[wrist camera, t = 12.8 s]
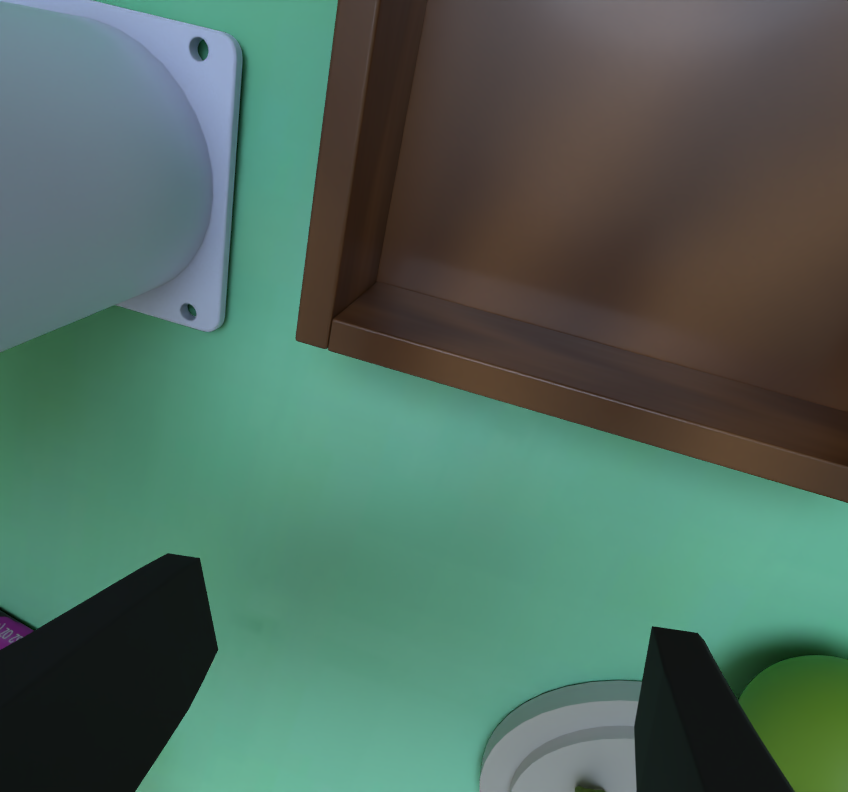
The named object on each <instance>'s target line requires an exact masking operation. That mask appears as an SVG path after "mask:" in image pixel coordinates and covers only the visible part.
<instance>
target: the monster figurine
mask: <svg viewBox="0 0 848 792" xmlns="http://www.w3.org/2000/svg"><path fill="white" fill-rule="evenodd" d="M641 685H642V682H640V681H622V680H616V681H599V682H588V683H583V684H577V685H572V686H566V687H563V688H560V689H557V690H554V691H551V692H547V693H544V694H542V695H540V696H538V697H536V698H534V699H532V700H530V701H528V702H526V703H524V704H522V705H521V706H520V707H518V708H517V709H516V710H514V711H513V712H511V713H510V714H509V715H507V717H506V718H505V719H504V720H503V721H502V722H501V723H500V724H499V725H498V726H497V727H496V729H495V730H494V732H493V734H492V736H491V737H490V739H489V741H488V743H487V746H486V749H485V753H484V756H483V761H482V768H481V775H480V792H637V789H636V767H635V739H634V724H635V718H636V713H637V707H638V701H639V696H640V690H641Z"/></svg>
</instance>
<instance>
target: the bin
mask: <svg viewBox="0 0 848 792" xmlns="http://www.w3.org/2000/svg"><path fill="white" fill-rule="evenodd" d="M296 340H297V341H299V342H302V343H306V344H309V345H312V346H316V347H319V348H323V349H327V348H328V350H329V351H332V352H335V353H339V354H342V355H345V356H349V357H352V358H356V359H359V360H362V361H366V362H369V363H373V364H376V365H379V366H383V367H386V368H390V369H393V370H396V371H400V372H403V373H407V374H410V375H414V376H417V377H420V378H424V379H427V380H431V381H434V382H437V383H441V384H444V385H448V386H451V387H454V388H458V389H461V390H465V391H468V392H472V393H475V394H478V395H482V396H485V397H489V398H492V399H495V400H499V401H502V402H506V403H509V404H512V405H516V406H519V407H523V408H526V409H530V410H533V411H536V412H540V413H543V414H547V415H550V416H553V417H557V418H560V419H564V420H567V421H570V422H574V423H577V424H581V425H584V426H588V427H591V428H594V429H598V430H601V431H605V432H608V433H611V434H615V435H618V436H622V437H625V438H628V439H632V440H635V441H639V442H642V443H646V444H649V445H652V446H656V447H659V448H663V449H666V450H669V451H673V452H676V453H680V454H683V455H686V456H690V457H693V458H697V459H700V460H704V461H707V462H710V463H714V464H717V465H721V466H724V467H727V468H731V469H734V470H738V471H741V472H744V473H748V474H751V475H755V476H758V477H761V478H765V479H768V480H772V481H775V482H779V483H782V484H785V485H789V486H792V487H796V488H799V489H802V490H806V491H809V492H813V493H816V494H819V495H823V496H826V497H830V498H833V499H837V500H840V501H843V502H847V503H848V0H338V5H337V13H336V21H335V29H334V37H333V45H332V52H331V60H330V68H329V76H328V84H327V92H326V100H325V108H324V116H323V124H322V132H321V140H320V148H319V156H318V164H317V171H316V179H315V187H314V195H313V203H312V211H311V219H310V227H309V235H308V243H307V251H306V259H305V267H304V275H303V282H302V290H301V298H300V306H299V314H298V322H297V330H296Z"/></svg>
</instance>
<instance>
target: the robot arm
mask: <svg viewBox="0 0 848 792" xmlns="http://www.w3.org/2000/svg"><path fill="white" fill-rule="evenodd" d="M202 39H204V40H205V42H206V43H207V45H208V50H209V52H208V56H207V58H206V59H205V60H204V61H203V60H202V59H201V57H200V56H199V54H198V45H199V42H200V41H201V40H202ZM242 63H243V57H242V50H241V47H240V45H239V43H238V41H237V40H236V39H235V38H234V37H233V36H232V35H230V34H228V33H226V32H222V31H217V30H213V29H209V28H205V27H201V26H197V25H192V24H188V23H184V22H180V21H176V20H172V19H167V18H163V17H159V16H155V15H151V14H147V13H142V12H138V11H134V10H130V9H126V8H121V7H117V6H113V5H109V4H105V3H101V2H96V1H92V0H0V352H2V351H5V350H7V349H10V348H12V347H14V346H17V345H19V344H22V343H24V342H26V341H29V340H31V339H34V338H36V337H39V336H41V335H43V334H46V333H48V332H51V331H53V330H55V329H58V328H60V327H63V326H65V325H68V324H70V323H72V322H75V321H77V320H80V319H82V318H85V317H87V316H89V315H92V314H94V313H97V312H99V311H101V310H104V309H106V308H109V307H111V306H114V305H116V306H120V307H123V308H126V309H130V310H133V311H137V312H140V313H143V314H147V315H150V316H153V317H157V318H160V319H164V320H167V321H170V322H174V323H177V324H180V325H184V326H187V327H191V328H194V329H197V330H201V331H205V332H211V331H214V330H216V329H217V328H219V327H220V326H221V325H222V324H223V323H224V319H225V309H226V295H227V280H228V266H229V251H230V237H231V222H232V208H233V193H234V179H235V164H236V150H237V135H238V121H239V106H240V92H241V77H242ZM188 304H190V305H192V306H193V307H194V308H195V310H196V317H195V316H193V315H192V314H191V313H190V312H189V311H188ZM217 651H218V646H217V641H216V636H215V631H214V626H213V621H212V616H211V611H210V606H209V601H208V596H207V591H206V586H205V581H204V577H203V572H202V567H201V562H200V558H195V557H189V556H182V555H176V554H169V553H167V554H166V555H164V556H162V557H160V558H158V559H156V560H154V561H152V562H151V563H149V564H147V565H145V566H143V567H142V568H140V569H138V570H136V571H135V572H133V573H131V574H130V575H128V576H126V577H124V578H123V579H121V580H119V581H118V582H116V583H114V584H113V585H111V586H109V587H108V588H106V589H104V590H103V591H101V592H99V593H98V594H96V595H94V596H92V597H91V598H89V599H87V600H86V601H84V602H82V603H81V604H79V605H77V606H76V607H74V608H72V609H70V610H69V611H67V612H65V613H64V614H62V615H60V616H59V617H57V618H55V619H54V620H52V621H50V622H48V623H47V624H45V625H43V626H42V627H40V628H38V629H37V630H35V631H33V632H31V633H30V634H28V635H26V636H24V637H23V638H21V639H19V640H17V641H15V642H13V643H12V644H10V645H8V646H6V647H4V648H3V649H1V650H0V792H135V791H136V789H137V788H138V786H139V785H140V783H141V782H142V780H143V779H144V777H145V776H146V774H147V773H148V771H149V770H150V768H151V767H152V765H153V764H154V762H155V761H156V759H157V758H158V756H159V754H160V753H161V751H162V750H163V748H164V747H165V745H166V744H167V742H168V741H169V739H170V737H171V736H172V734H173V733H174V731H175V730H176V728H177V727H178V725H179V724H180V722H181V720H182V719H183V717H184V716H185V714H186V713H187V711H188V709H189V708H190V706H191V704H192V702H193V700H194V698H195V696H196V694H197V692H198V690H199V688H200V686H201V684H202V682H203V680H204V678H205V676H206V674H207V672H208V670H209V668H210V666H211V664H212V662H213V659H214V657H215V655H216V653H217ZM634 739H635V767H636V789H637V792H795V791H794V790H793V788H792V787H791V785H790V783H789V782H788V780H787V779H786V777H785V776H784V774H783V773H782V771H781V770H780V768H779V767H778V765H777V763H776V762H775V760H774V759H773V757H772V756H771V754H770V753H769V751H768V750H767V748H766V746H765V745H764V743H763V742H762V740H761V738H760V737H759V735H758V733H757V732H756V730H755V729H754V727H753V725H752V724H751V722H750V720H749V719H748V717H747V715H746V714H745V712H744V710H743V709H742V707H741V705H740V704H739V702H738V700H737V699H736V697H735V695H734V693H733V692H732V690H731V688H730V686H729V685H728V683H727V681H726V679H725V678H724V676H723V674H722V672H721V671H720V669H719V667H718V665H717V663H716V661H715V660H714V658H713V656H712V654H711V652H710V650H709V649H708V647H707V645H706V643H705V641H704V640H703V639H702V637H701V636H700V635H699V634H698V633H694V632H687V631H681V630H674V629H667V628H661V627H654V626H652V629H651V635H650V640H649V646H648V651H647V657H646V663H645V668H644V674H643V679H642V685H641V690H640V696H639V701H638V707H637V713H636V718H635V724H634Z"/></svg>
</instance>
